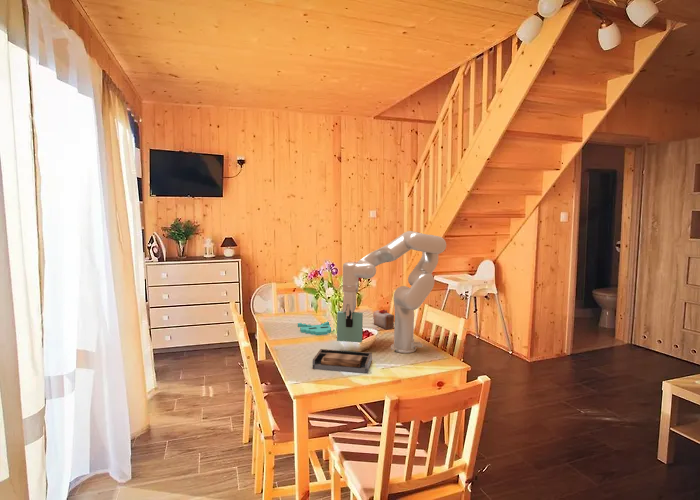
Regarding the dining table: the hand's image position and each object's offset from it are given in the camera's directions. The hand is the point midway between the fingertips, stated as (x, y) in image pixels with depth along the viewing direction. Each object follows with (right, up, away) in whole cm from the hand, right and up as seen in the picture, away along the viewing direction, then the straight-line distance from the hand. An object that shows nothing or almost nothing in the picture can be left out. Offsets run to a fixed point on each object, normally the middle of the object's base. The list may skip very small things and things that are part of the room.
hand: (349, 325), depth 206 cm
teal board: (0, -7, +1) cm, 7 cm away
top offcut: (-3, -12, -18) cm, 22 cm away
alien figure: (-18, -10, +40) cm, 45 cm away
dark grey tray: (-3, -16, -15) cm, 22 cm away
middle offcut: (-4, -13, -17) cm, 22 cm away
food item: (+20, -9, +48) cm, 52 cm away
